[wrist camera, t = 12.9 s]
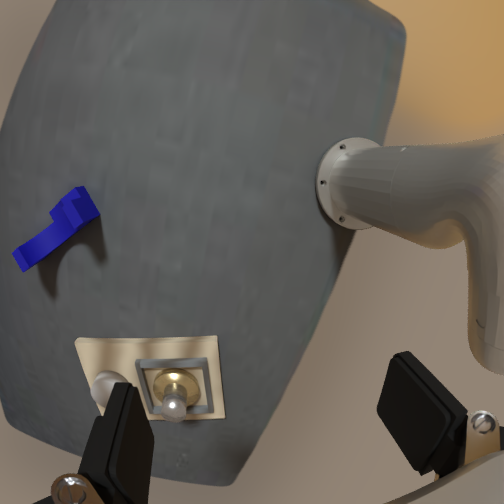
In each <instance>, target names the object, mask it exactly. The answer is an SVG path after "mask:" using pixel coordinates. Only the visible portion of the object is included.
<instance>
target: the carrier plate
mask: <svg viewBox="0 0 504 504" xmlns="http://www.w3.org/2000/svg"><path fill="white" fill-rule="evenodd" d="M74 343H75V346H76V349H77V352H78V355H79V358H80V361H81V364H82V367H83V370H84V372H85V375H86V378H87V381H88V383H89V386H90V388H91V395H92V397H93V399H94V400H95V401H96V403H97V405H98V408H99V410H100V412H101V415H102V416H103V415H104V412H105V409H106V406H107V403H108V400H109V397H110V394H111V392H112V389H113V386H114V384H115V382H130V383H132V385H133V387H137V388H138V390H139V393H140V397H141V400H142V403H143V406H144V409H145V412H146V415H147V418H148V420H165V419H164V418H163V417H162V415H161V408H162V402H160V401H159V400H158V399H157V398H156V396H155V395H154V392H153V384H154V379H155V377H156V375H157V374H158V373H159V372H160V371H162V370H165V369H168V368H179V369H183V370H186V371H188V372H190V373H191V374H192V375H194V376H195V378H196V379H197V381H198V383H199V396H198V399H197V400H196V401H195V402H194V403H193V404H192V405H190V406H187V407H186V418H185V419H184V420H195V419H217V418H225V411H224V402H223V393H222V383H221V373H220V363H219V352H218V341H217V336H199V337H175V338H77V339H76V341H75V342H74Z"/></svg>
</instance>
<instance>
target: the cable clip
mask: <svg viewBox="0 0 504 504" xmlns="http://www.w3.org/2000/svg"><path fill="white" fill-rule="evenodd" d="M49 213H50V215H51V217H52V219H53V220H54V222H53V223H52V224H51V225H50V226H48V227H47V228H46V229H45V230H43V231H42V232H41V233H39V234H38V235H36V236H35V237H34V238H32V239H31V240H29V241H28V242H26V243H25V244H23V245H21V246H20V247H18V248H17V249H16V250H15V251H14V252H13V253H12V255H13V256H14V258H15V260H16V262H17V263H18V265H19V267H20V268H21V270H22V272H25V271H26V270H28V269H29V268H31V267H32V266H34V265H36V264H37V263H39V262H40V261H42V260H43V259H44V258H46V257H47V256H48V255H49V254H50V253H52V252H53V251H54V250H55V249H56V248H58V247H59V246H60V245H61V244H62V243H64V242H65V241H66V240H67V239H69V238H70V237H71V236H72V235H74V234H75V233H76V232H78V231H79V230H80V229H81V228H83V227H84V226H85V225H87V224H88V223H89V222H91V221H92V220H93V219H95V218H96V217H97V216H99V215H100V213H99V211H98V210H97V208H96V206H95V205H94V203H93V201H92V199H91V198H90V196H89V194H88V192H87V191H86V189H85V187H84V186H80V187H75V188H74V189H73V190H71V191H70V192H69V193H68V194H67V195H65V196H64V197H63V198H62V199H61V200H60V201H59V203H58V204H57V205H56V206H55V207H54V208H53V209H52V210H51V211H50V212H49Z"/></svg>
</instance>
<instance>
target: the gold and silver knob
mask: <svg viewBox="0 0 504 504" xmlns="http://www.w3.org/2000/svg"><path fill="white" fill-rule="evenodd" d="M153 392H154V395H155V396H156V398H157V399H158V400H159V401H160V402H162V408H161V415H162V417H163V418H164V419H165V420H167V421H169V422H175V423H176V422H181V421H183V420H184V419H185V418H186V407H187V406H190V405H192V404H193V403H194V402H195V401H196V400H197V399H198V396H199V383H198V381H197V379H196V378H195V376H194V375H192V374H191V373H190V372H188V371H186V370H183V369H179V368H168V369H165V370H162V371H160V372H159V373H158V374H157V375H156V377H155V379H154V384H153Z"/></svg>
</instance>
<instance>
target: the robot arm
mask: <svg viewBox="0 0 504 504" xmlns="http://www.w3.org/2000/svg"><path fill="white" fill-rule="evenodd" d="M340 146H341V149H340ZM321 181H322V182H323V184H322V185H321V184H320V182H321ZM315 186H316V193H317V197H318V200H319V203H320V205H321V207H322V209H323V210H324V212H325V213H326V214H327V215H328V217H329V218H331V219H332V220H333V221H334V222H335V223H337V224H339V225H341V226H343V227H346V228H348V229H354V230H363V229H367V228H371V227H373V226H375V227H377V228H380V229H382V230H385V231H387V232H390V233H392V234H394V235H397V236H399V237H402V238H404V239H407V240H409V241H411V242H414V243H416V244H419V245H421V246H424V247H427V248H430V249H446V248H449V247H452V246H454V245H456V244H458V243H460V242H462V241H463V240H464V242H465V246H466V253H467V269H468V288H469V289H468V340H469V345H470V349H471V351H472V354H473V356H474V357H475V359H476V360H477V361H478V362H479V363H480V364H481V365H482V366H483V367H484V368H486V369H488V370H489V371H491V372H494V373H496V374H500V375H504V134H503V135H498V136H493V137H489V138H484V139H479V140H473V141H467V142H459V143H449V144H425V145H406V146H389V147H381V146H380V145H378V144H377V143H376V142H373V141H371V140H369V139H365V138H349V139H345V140H342V141H339V142H337V143H336V144H334V145H333V146H331V147H330V148H329V149H328V150H327V151H326V153H325V154H324V156H323V157H322V159H321V161H320V163H319V165H318V168H317V173H316V182H315ZM340 217H341V219H340V220H339V218H340ZM467 412H468V411H467V409H466V408H465V407H464V406H463V405H462V404H461V403H460V402H459V401H458V400H457V399H456V398H455V397H454V396H453V395H452V394H451V393H450V392H449V391H448V390H447V389H446V388H445V387H444V386H443V385H442V383H441V382H439V380H437V378H436V377H435V376H434V375H433V374H432V373H431V372H430V371H429V370H428V369H427V368H426V367H425V366H424V365H423V364H422V363H421V362H420V361H419V360H418V359H417V358H416V357H415V356H414V355H413V354H412V353H411V352H409V351H405V352H401V353H397V354H395V355H394V356H393V358H392V359H391V360H390V363H389V366H388V370H387V374H386V378H385V381H384V385H383V389H382V393H381V395H380V399H379V402H378V405H377V413H378V415H379V417H380V418H381V420H382V421H383V423H384V425H385V426H386V428H387V429H388V431H389V432H390V434H391V435H392V437H393V438H394V439H395V441H396V443H397V444H398V446H399V447H400V449H401V451H402V452H403V454H404V455H405V457H406V458H407V460H408V461H409V463H410V464H411V466H412V467H413V469H414V470H416V471H419V473H420V475H421V476H422V475H424V474H426V473H428V472H430V471H432V470H434V471H435V473H436V474H435V479H434V482H432V483H430V484H428V485H426V486H424V487H422V488H420V489H418V490H416V491H414V492H411V493H409V494H407V495H404V496H402V497H400V498H397V499H395V500H392V501H390V502H387V503H384V504H504V427H501V426H499V423H498V420H497V418H496V417H495V416H494V415H493V414H492V413H489V412H487V411H476V412H473V413H472V414H470V416H469V417H468V416H467ZM153 449H154V435H153V432H152V429H151V427H150V424H149V421H148V418H147V415H146V412H145V409H144V406H143V403H142V400H141V397H140V393H139V390H138V388H137V387H133V385H132V383H130V382H115V384H114V386H113V389H112V392H111V394H110V397H109V400H108V403H107V406H106V409H105V412H104V415H103V416H97V417H96V419H95V421H94V424H93V427H92V430H91V433H90V436H89V439H88V442H87V445H86V448H85V451H84V454H83V457H82V461H81V464H80V467H79V470H78V473H77V474H75V473H68V474H64V475H61V476H59V477H58V478H57V479H56V480H55V481H54V482H53V484H52V486H51V496H48V497H46V498H44V499H42V500H40V501H38V502H35V503H33V504H148V495H149V484H150V475H151V466H152V458H153Z"/></svg>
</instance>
